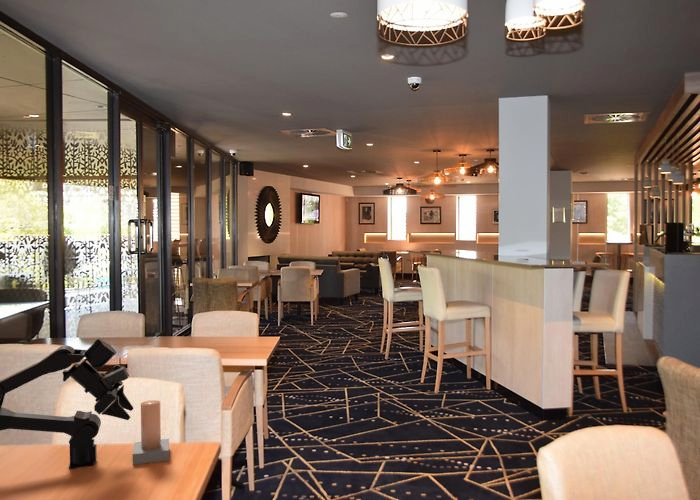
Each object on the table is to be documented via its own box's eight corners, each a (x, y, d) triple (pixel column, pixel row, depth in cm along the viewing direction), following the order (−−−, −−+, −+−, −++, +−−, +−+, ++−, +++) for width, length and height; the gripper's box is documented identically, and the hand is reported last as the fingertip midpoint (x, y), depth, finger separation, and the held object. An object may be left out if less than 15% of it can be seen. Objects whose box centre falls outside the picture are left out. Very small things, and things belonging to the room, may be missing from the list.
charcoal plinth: (132, 464, 168) (132, 454, 168) (134, 452, 178) (134, 442, 178) (169, 460, 171) (168, 450, 171) (168, 448, 181) (168, 438, 181)
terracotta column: (147, 451, 171) (146, 406, 170) (137, 446, 175) (137, 403, 174) (164, 446, 175) (163, 402, 174) (155, 441, 179) (154, 399, 178)
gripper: (106, 365, 162) (148, 402, 165) (115, 352, 180) (153, 385, 183) (75, 395, 160) (119, 432, 163) (87, 379, 178) (126, 412, 181)
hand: (130, 414), depth 173 cm, fingers open, 9 cm apart
